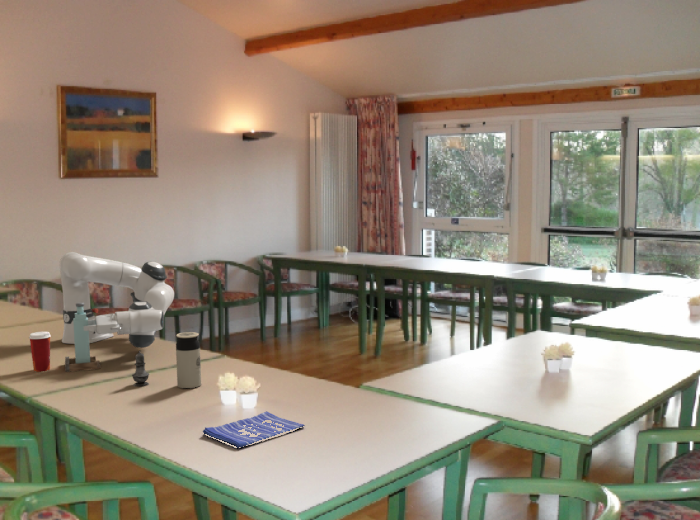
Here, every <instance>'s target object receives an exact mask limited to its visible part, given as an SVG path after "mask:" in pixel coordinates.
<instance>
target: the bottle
mask: <svg viewBox="0 0 700 520" xmlns="http://www.w3.org/2000/svg"><path fill="white" fill-rule="evenodd" d="M83 306H84V303H76V307H77V313H75V318H73V323H74V341H75V344H74V354H75V356H74V358H75V359H76V364H78V363H88V362H90V356H91V352H90V351H91V350H90V349H91V348H90V343H89V331H84V326H86V325H88V317H86V313H84V309H83Z"/></svg>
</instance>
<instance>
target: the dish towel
mask: <svg viewBox="0 0 700 520" xmlns="http://www.w3.org/2000/svg"><path fill="white" fill-rule="evenodd" d="M265 420H271V421H272V423H267V422H265V423H263V424H262V422H263V421H265ZM273 422H274V423H273ZM275 423H278V424H282V426H283V425H284V427H282V426H279V425H276V424H275ZM251 424H253V425H251ZM270 424H271V425H270ZM243 425H246V426H245V427H244V426H243ZM256 425H257V426H256ZM265 425H266V426H265ZM271 426H273V427H275V428H272V427H271ZM276 426H277V428H282V430H281V431H278V430H277V429H276ZM303 426H305V427H306V425H305V424H302V423H299V422H296V421H292V420H289V419H285V418H282V417H278V416H277V415H275V414H273V413H270V412H269V411H266V410H265V411H264V412H261V413H259V414H258V415H253V416H252V417H247V418H244V419H240V420H237V421H233V422H230V423H226V424H223V425H218V426H210V427H204V429H203V430H202V434H203V433H204V434H207V435H209V436H211V437H214V438H216V439H219V440H222V441H224V442H227V443H229V444H231V445H234V446H236V447H237V448H239V447H243V446H246V445H249V444H252V443H254V442H257V441H259V440H262V439H266V438H269V437H272V436H275V435H277V434H280V433H283V432H286V431H290V430H293V429H296V428H300V427H303ZM248 427H252V428H251V429H250V428H248ZM258 427H259V428H258ZM303 428H304V427H303ZM242 429H245V431H247V432H250V433H251V434H252V433H253V434H255V435H257V433H261V434H260V435H258V436H257V437H249V436H250V434H248V435H247V434H246V435H240V434H242V433H244V432H238V431H239V430H242ZM254 429H255V430H256V431H253V430H254ZM274 431H276V432H274ZM204 434H203V435H204Z"/></svg>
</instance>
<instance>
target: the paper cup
mask: <svg viewBox="0 0 700 520" xmlns="http://www.w3.org/2000/svg"><path fill="white" fill-rule="evenodd" d="M51 335H52V334H50V332H49V331H36V332H31V333H30V334H29V337H28V339H29V343H30V353H31V358H32V367H33V371H34V372H35V371H36V372H35V373H42V372H41V371H44V372H47V370H48V371H50V369H51V337H52V336H51Z"/></svg>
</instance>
